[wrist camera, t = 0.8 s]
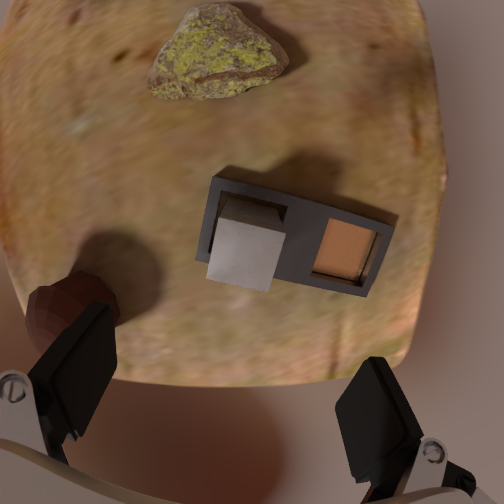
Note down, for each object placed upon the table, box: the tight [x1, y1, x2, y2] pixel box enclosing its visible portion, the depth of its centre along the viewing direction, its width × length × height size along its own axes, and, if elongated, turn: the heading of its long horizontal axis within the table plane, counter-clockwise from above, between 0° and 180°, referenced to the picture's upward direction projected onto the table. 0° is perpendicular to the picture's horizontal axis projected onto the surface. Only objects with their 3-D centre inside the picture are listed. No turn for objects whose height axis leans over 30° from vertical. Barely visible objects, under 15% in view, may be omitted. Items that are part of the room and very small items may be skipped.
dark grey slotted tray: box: [196, 175, 394, 297], centre depth 26 cm, size 8×18×2 cm, turn 76°
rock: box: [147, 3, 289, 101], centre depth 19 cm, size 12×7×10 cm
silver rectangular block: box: [206, 197, 286, 292], centre depth 22 cm, size 4×4×8 cm
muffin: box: [25, 271, 120, 356], centre depth 25 cm, size 12×11×10 cm
